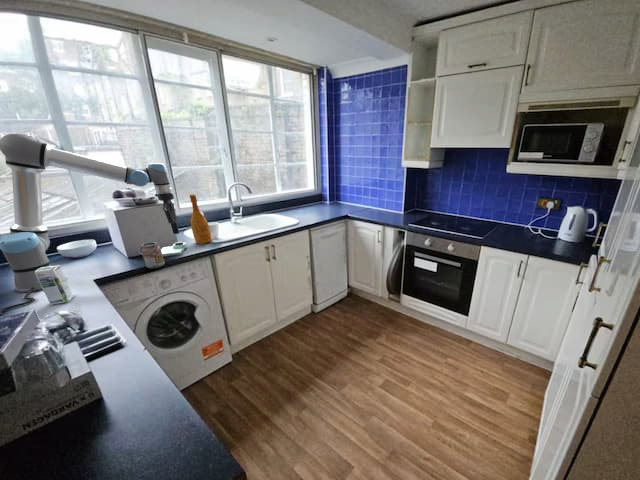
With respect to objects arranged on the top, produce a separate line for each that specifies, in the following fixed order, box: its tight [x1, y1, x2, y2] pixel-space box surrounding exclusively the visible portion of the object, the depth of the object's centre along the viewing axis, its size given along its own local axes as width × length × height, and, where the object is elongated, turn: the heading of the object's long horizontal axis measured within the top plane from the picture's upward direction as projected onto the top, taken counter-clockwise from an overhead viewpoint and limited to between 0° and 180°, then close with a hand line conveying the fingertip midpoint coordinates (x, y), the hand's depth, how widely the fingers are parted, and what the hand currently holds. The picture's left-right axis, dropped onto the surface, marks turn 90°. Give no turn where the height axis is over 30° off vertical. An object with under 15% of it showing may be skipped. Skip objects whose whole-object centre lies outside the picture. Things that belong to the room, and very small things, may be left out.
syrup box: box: [34, 264, 74, 306], centre depth 116 cm, size 6×6×14 cm
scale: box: [160, 242, 187, 257], centre depth 172 cm, size 14×13×3 cm
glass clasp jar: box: [138, 241, 166, 270], centre depth 149 cm, size 9×8×12 cm
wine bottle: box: [189, 194, 213, 245], centre depth 182 cm, size 10×10×30 cm
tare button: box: [174, 240, 184, 246], centre depth 175 cm, size 4×4×2 cm
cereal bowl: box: [56, 239, 98, 259], centre depth 168 cm, size 17×17×7 cm
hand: (176, 233), depth 173 cm, fingers closed
